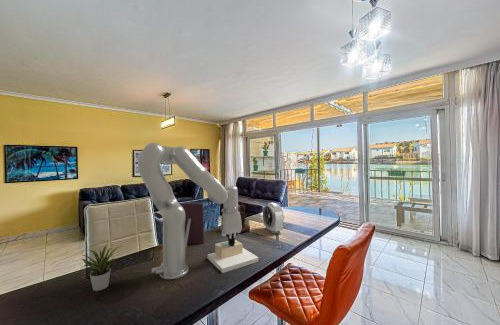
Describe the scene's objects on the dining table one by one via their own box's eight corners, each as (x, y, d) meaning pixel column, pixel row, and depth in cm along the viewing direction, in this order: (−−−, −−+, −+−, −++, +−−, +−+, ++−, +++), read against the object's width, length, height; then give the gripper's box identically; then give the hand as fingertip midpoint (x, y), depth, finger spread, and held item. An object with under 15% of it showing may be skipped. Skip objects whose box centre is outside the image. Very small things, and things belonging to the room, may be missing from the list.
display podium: (222, 273, 99) (222, 268, 99) (207, 258, 114) (207, 254, 114) (258, 261, 110) (258, 257, 110) (240, 249, 125) (240, 246, 125)
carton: (221, 259, 108) (221, 248, 108) (215, 253, 115) (215, 243, 115) (242, 253, 115) (242, 243, 115) (235, 248, 122) (235, 239, 122)
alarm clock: (262, 228, 163) (261, 201, 163) (271, 227, 167) (271, 200, 167) (274, 235, 147) (274, 205, 147) (285, 233, 151) (284, 204, 150)
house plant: (116, 272, 100) (115, 237, 100) (129, 283, 91) (128, 244, 91) (77, 287, 89) (77, 247, 89) (87, 300, 80) (87, 256, 80)
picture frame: (204, 243, 136) (203, 202, 136) (198, 249, 126) (198, 206, 126) (178, 242, 137) (177, 202, 137) (171, 248, 127) (170, 205, 127)
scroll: (254, 230, 159) (253, 203, 159) (238, 235, 149) (238, 206, 149) (240, 226, 170) (240, 200, 170) (225, 230, 160) (225, 203, 159)
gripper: (220, 213, 106) (221, 251, 106) (246, 209, 114) (247, 244, 114) (214, 210, 112) (215, 246, 112) (239, 207, 120) (240, 240, 120)
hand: (231, 245), depth 113 cm, fingers closed
